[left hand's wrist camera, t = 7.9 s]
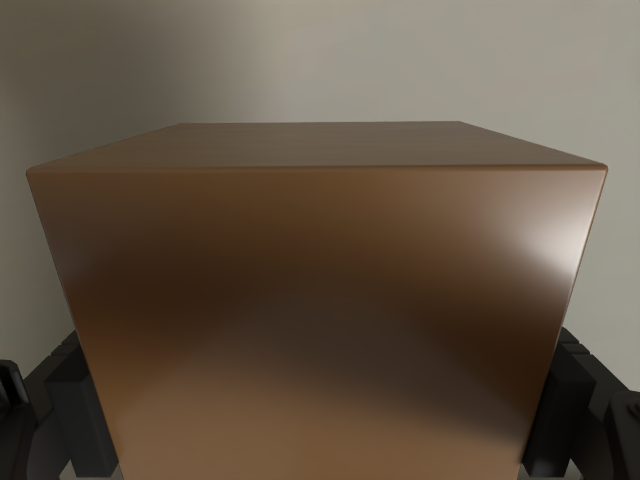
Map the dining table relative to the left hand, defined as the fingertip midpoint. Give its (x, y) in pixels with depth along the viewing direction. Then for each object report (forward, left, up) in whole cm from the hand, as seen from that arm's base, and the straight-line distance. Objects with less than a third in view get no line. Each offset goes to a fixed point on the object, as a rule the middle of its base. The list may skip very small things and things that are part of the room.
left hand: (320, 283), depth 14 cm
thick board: (+2, -19, -1) cm, 20 cm away
